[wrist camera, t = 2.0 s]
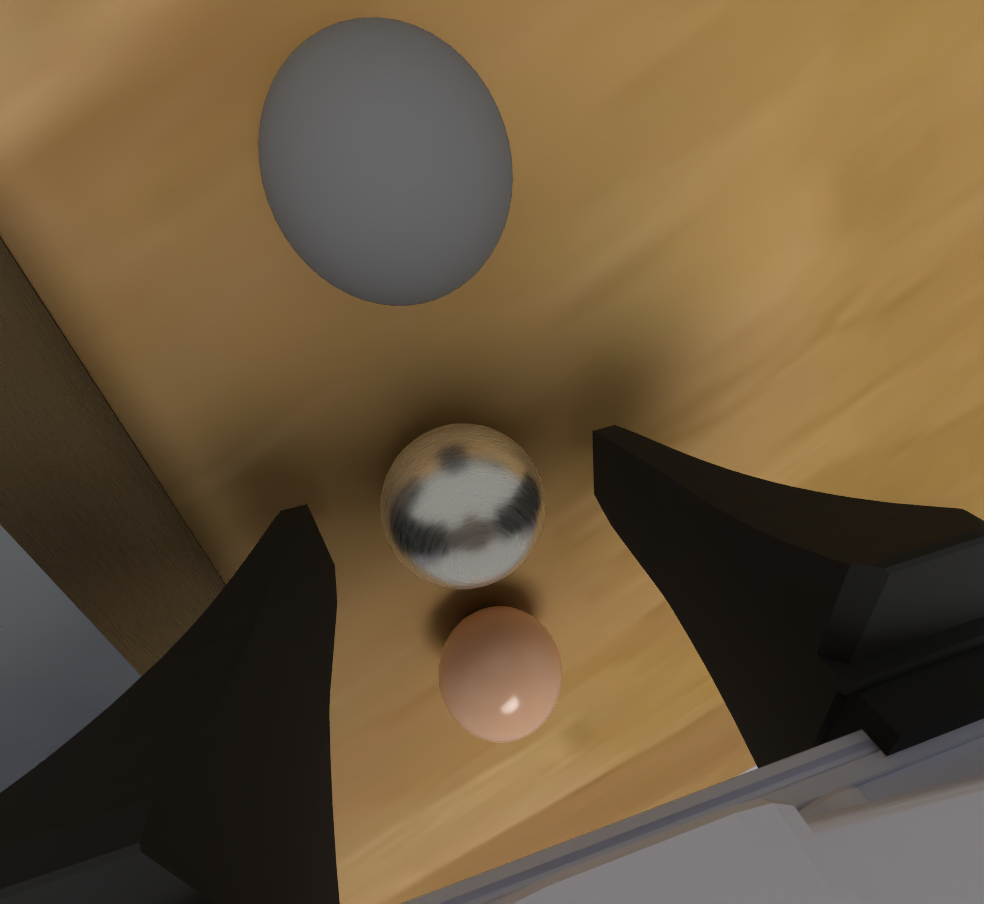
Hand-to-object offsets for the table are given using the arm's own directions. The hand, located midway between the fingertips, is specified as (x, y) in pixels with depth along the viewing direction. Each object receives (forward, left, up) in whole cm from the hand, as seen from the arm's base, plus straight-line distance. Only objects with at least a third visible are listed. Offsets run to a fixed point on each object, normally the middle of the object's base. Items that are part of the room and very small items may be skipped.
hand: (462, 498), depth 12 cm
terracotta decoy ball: (-7, 0, 0) cm, 7 cm away
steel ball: (0, 0, 0) cm, 0 cm away
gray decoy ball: (+7, 0, 0) cm, 7 cm away
